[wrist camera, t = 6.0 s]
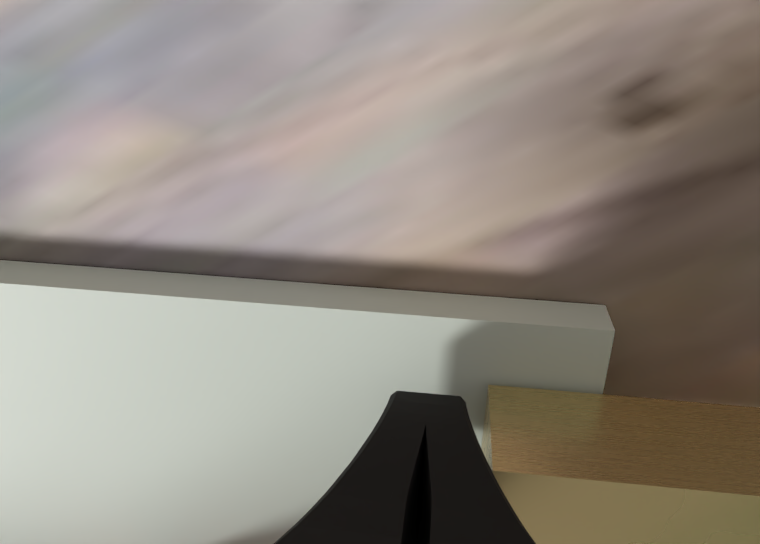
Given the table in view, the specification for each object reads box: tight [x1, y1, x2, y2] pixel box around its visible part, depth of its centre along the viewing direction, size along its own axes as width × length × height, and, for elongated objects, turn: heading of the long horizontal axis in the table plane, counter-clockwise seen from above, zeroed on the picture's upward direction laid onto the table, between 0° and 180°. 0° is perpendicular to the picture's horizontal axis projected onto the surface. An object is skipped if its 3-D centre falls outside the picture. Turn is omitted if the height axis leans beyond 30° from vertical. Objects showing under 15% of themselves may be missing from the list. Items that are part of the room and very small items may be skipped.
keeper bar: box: [481, 385, 760, 544], centre depth 12 cm, size 8×2×2 cm, turn 88°
